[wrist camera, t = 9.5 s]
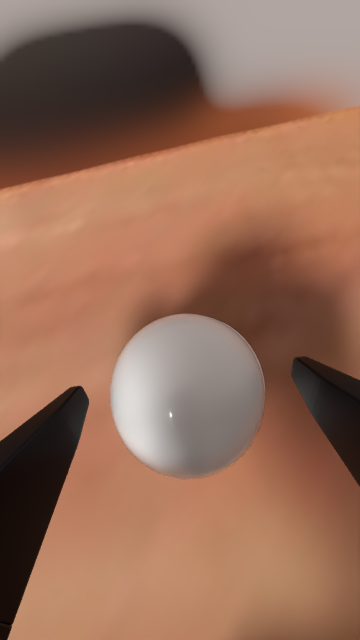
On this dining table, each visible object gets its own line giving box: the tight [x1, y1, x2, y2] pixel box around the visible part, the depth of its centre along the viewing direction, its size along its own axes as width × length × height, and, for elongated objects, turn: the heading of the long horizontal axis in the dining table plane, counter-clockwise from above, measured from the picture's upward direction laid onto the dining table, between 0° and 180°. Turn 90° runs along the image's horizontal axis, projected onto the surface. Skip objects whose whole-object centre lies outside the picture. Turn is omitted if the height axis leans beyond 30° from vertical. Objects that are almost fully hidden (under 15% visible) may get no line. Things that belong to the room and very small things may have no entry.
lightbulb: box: [110, 314, 265, 479], centre depth 10 cm, size 6×6×11 cm
